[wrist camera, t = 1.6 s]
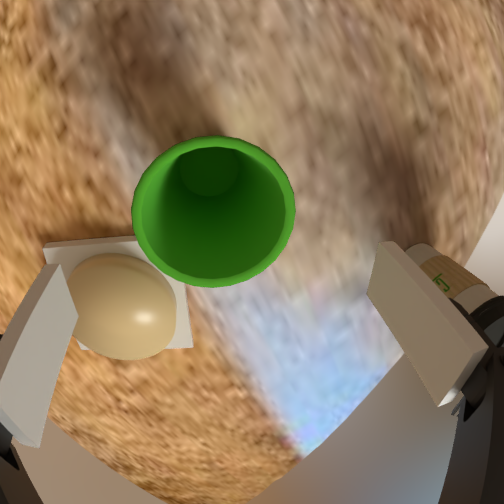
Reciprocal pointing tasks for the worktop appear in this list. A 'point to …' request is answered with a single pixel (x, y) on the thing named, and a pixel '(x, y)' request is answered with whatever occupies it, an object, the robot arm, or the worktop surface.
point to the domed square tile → (121, 298)
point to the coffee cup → (463, 289)
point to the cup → (213, 211)
